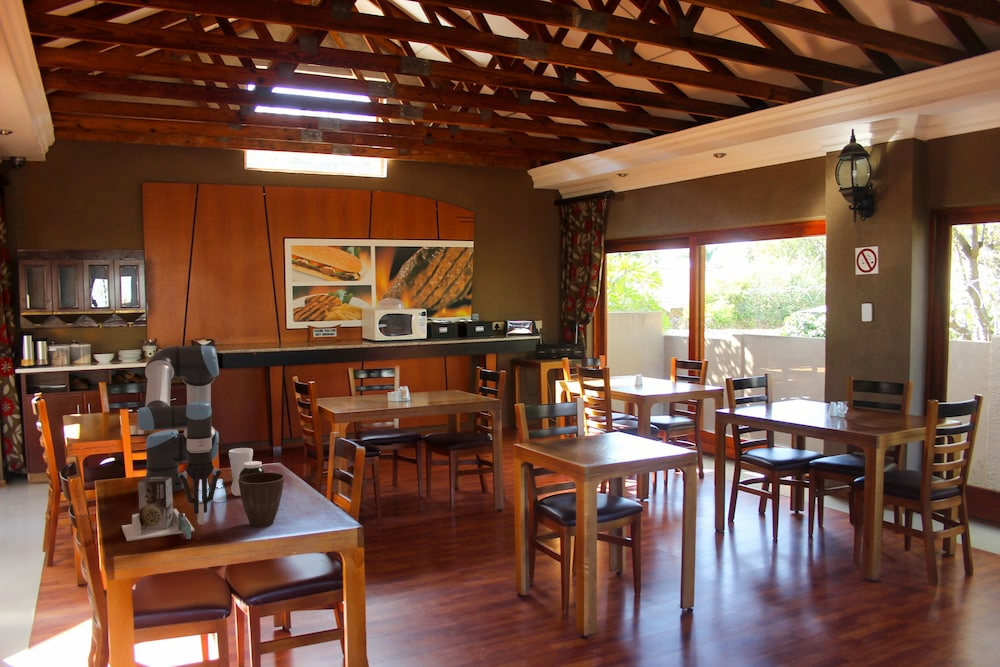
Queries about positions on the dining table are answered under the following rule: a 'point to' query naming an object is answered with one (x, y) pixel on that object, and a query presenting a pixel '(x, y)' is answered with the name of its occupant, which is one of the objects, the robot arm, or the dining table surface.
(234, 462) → the foam cup
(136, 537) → the white shallow tray
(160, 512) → the coffee box
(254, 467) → the spread jar
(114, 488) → the dining table surface
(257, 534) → the dining table surface
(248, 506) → the plant pot
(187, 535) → the ball knob lever
